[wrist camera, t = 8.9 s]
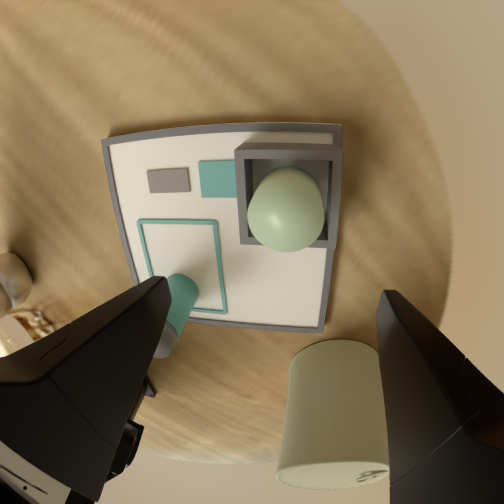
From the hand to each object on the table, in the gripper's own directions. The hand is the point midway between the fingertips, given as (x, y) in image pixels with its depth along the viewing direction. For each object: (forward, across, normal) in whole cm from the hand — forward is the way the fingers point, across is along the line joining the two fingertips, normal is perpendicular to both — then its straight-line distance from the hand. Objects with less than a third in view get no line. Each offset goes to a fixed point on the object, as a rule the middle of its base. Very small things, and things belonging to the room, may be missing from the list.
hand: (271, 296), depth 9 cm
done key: (+9, 0, 0) cm, 9 cm away
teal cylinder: (+10, +8, +9) cm, 16 cm away
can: (+11, -5, +18) cm, 22 cm away
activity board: (+11, +5, +4) cm, 13 cm away
